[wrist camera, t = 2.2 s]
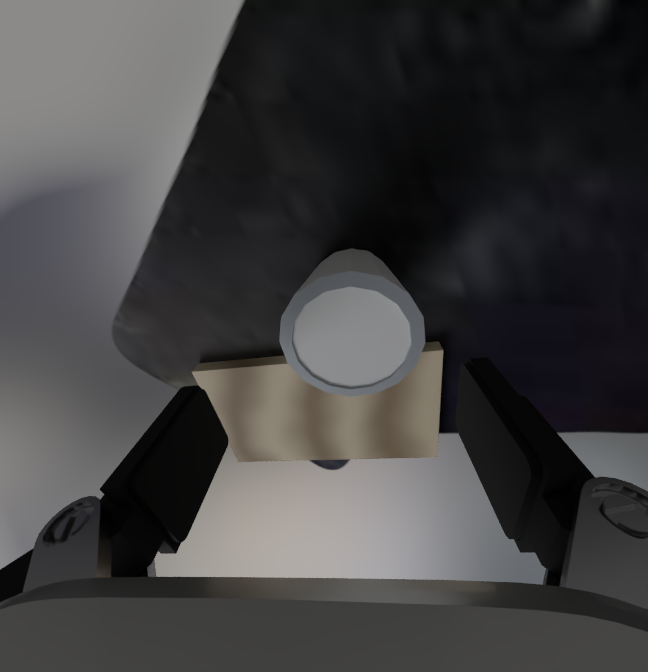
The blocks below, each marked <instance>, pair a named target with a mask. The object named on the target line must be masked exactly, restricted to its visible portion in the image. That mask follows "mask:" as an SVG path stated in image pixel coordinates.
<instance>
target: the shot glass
mask: <svg viewBox="0 0 648 672" xmlns="http://www.w3.org/2000/svg"><path fill="white" fill-rule="evenodd" d="M279 342H280V344H281V347H282V350H283V352H284V355H285V358H286V360H287V363H288V364H289V365H290V367H291V368H292V369H293V370H294V371H295V372H296V373H297V374H298V375H299V376H300V377H301V378H302V379H303V380H304V381H305V382H307V383H309V384H311V385H313V386H315V387H316V388H318V389H320V390H322V391H324V392H327V393H332V394H338V395H344V396H349V397H352V396H360V395H369V394H376V393H378V392H380V391H382V390H385V389H387V388H389V387H391V386H393V385H396V384H398V383H399V382H400V381H401V380H402V379H403V378H404V377H405V376H406V375H407V374H408V373H409V372H410V371H411V370H412V369H413V368H414V367H415V366H416V365H417V362H418V360H419V357H420V355H421V352H422V350H423V348H424V345H425V331H424V317H423V316H422V314H421V312H420V311H419V309H418V308H417V306H416V304H415V303H414V301H413V299H412V298H411V296H410V295H409V293H408V292H407V291H406V289H405V288H404V287H403V286H402V284H401V283H400V282H399V281H398V279H397V278H396V277H395V276H394V275H393V273H392V272H391V271H390V270H389V268H388V267H387V266H386V265H385V263H384V262H383V261H382V260H380V259H379V258H377V257H376V256H374V255H373V254H371V253H370V252H368V251H363V250H357V249H352V248H351V249H347V250H343V251H338V252H334V253H333V254H332V255H330V256H329V257H328V258H326V259H325V260H323V261H322V262H321V263H320V264H319V265H318V267H317V268H316V269H315V270H314V272H313V273H312V274H311V275H310V276H309V278H308V279H307V280H306V281H305V283H304V284H303V285H302V286H301V287H300V289H299V290H298V291H297V292H296V294H295V295H294V297H293V298H292V300H291V302H290V303H289V305H288V307H287V309H286V310H285V312H284V314H283V315H282V317H281V328H280V341H279Z"/></svg>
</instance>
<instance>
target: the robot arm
mask: <svg viewBox="0 0 648 672" xmlns="http://www.w3.org/2000/svg"><path fill="white" fill-rule="evenodd" d="M456 428H457V431H458V433H459V435H460V438H461V439H462V442H463V444H464V446H465V448H466V450H467V453H468V455H469V457H470V459H471V461H472V464H473V466H474V467H475V470H476V472H477V474H478V477H479V479H480V481H481V483H482V485H483V487H484V490H485V492H486V494H487V496H488V498H489V500H490V503H491V505H492V507H493V509H494V511H495V513H496V515H497V518H498V520H499V522H500V524H501V527H502V529H503V531H504V533H505V535H506V536H507V537H508V538H509V539H514V540H515V542H516V544H517V547H518V548H519V550H520V552H535V553H536V555H537V557H538V559H539V561H540V562H541V565H542V566H544V567H545V568H546V571H545V575H544V580H543V584H542V585H537V584H525V583H510V582H484V581H456V580H405V579H343V578H340V579H339V578H251V577H249V578H248V577H156V571H155V562H154V558H155V556H156V554H157V552H158V551H159V552H160V553H177V550H178V548H179V546H180V544H181V542H183V541H184V540H185V539H186V537H187V535H188V533H189V531H190V529H191V527H192V524H193V522H194V520H195V518H196V515H197V513H198V511H199V509H200V506H201V504H202V502H203V500H204V497H205V495H206V493H207V491H208V488H209V486H210V484H211V482H212V480H213V477H214V475H215V473H216V471H217V468H218V466H219V464H220V462H221V459H222V457H223V455H224V453H225V451H226V448H227V446H228V435H227V433H226V431H225V429H224V427H223V425H222V423H221V421H220V419H219V417H218V415H217V413H216V411H215V409H214V407H213V405H212V403H211V401H210V399H209V397H208V395H207V393H206V391H205V390H204V389H202V388H201V387H200V386H186V387H182V388H181V389H180V390H179V391H178V392H177V394H176V395H175V396H174V397H173V399H172V400H171V401H170V402H169V403H168V405H167V406H166V407H165V408H164V410H163V411H162V413H161V414H160V415H159V416H158V418H156V420H155V421H154V422H153V423H152V425H151V426H150V427H149V428H148V430H147V431H146V432H145V433H144V435H143V436H142V437H141V439H140V440H139V441H138V442H137V443H136V445H135V446H134V447H133V448H132V450H131V451H130V452H129V453H128V454H127V456H126V457H125V458H124V459H123V461H122V462H121V463H120V465H119V466H118V467H117V468H116V469H115V471H114V472H113V473H112V474H111V476H110V477H109V478H108V479H107V481H106V482H105V483H104V484H103V486H102V487H101V488H100V490H101V491H102V492H103V493H104V494H105V495H104V496H103V497H102V498H101V500H100V499H98V498H97V497H96V496H88V497H84V498H81V499H79V500H76V501H74V502H72V503H71V504H69V505H68V506H66V507H65V508H63V509H62V510H61V511H59V512H58V513H57V514H56V515H55V516H54V517H53V518H52V519H51V520H50V521H49V522H48V523H47V524H46V525H45V526H44V528H43V529H42V531H41V532H40V533H39V535H38V538H37V540H36V542H35V546H34V548H33V549H32V550H30V551H29V552H27V553H26V554H24V555H23V556H21V557H19V558H18V559H16V560H15V561H13V562H12V563H10V564H9V565H7V566H5V567H4V568H2V569H1V570H0V672H648V492H647V491H646V490H644V489H642V488H640V487H638V486H636V485H633V484H631V483H628V482H625V481H622V480H619V479H616V478H608V477H597V478H595V477H594V476H593V475H592V474H591V472H590V471H589V470H588V469H587V468H586V466H585V465H584V464H583V463H582V462H581V461H580V460H579V458H578V457H577V456H576V455H575V454H574V452H573V451H572V450H571V449H570V448H569V447H568V445H567V444H566V443H565V442H564V441H563V440H562V438H561V437H560V436H559V435H558V434H557V433H556V431H555V430H554V429H553V428H552V427H551V426H550V424H549V423H548V422H547V421H546V420H545V419H544V417H543V416H542V415H541V414H540V413H539V412H538V410H537V409H536V408H535V407H534V406H533V405H532V403H531V402H530V401H529V400H528V399H527V398H526V397H524V396H522V395H518V394H517V392H516V391H515V390H514V389H513V388H512V386H511V385H510V384H509V383H508V382H507V380H506V379H505V378H504V377H503V376H502V374H501V373H500V372H499V371H498V370H497V368H496V367H495V366H494V365H493V364H492V362H491V361H490V360H489V359H488V358H486V357H484V358H473V359H467V361H466V364H461V367H460V377H459V388H458V399H457V410H456Z"/></svg>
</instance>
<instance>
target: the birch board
mask: <svg viewBox="0 0 648 672" xmlns="http://www.w3.org/2000/svg"><path fill="white" fill-rule="evenodd" d="M442 365H443V349H442V347H441V345H440V343H439V341H438V342H427V343H425V345H424V348H423V350H422V352H421V355H420V357H419V360H418V362H417V365H416V366H415V367H414V368H413V369H412V370H411V371H410V372H409V373H408V374H407V375H406V376H405V377H404V378H403V379H402V380H401V381H400V382H399V383H398V384H396V385H393V386H391V387H389V388H387V389H385V390H382V391H380V392H378V393H376V394H369V395H360V396H352V397H349V396H344V395H338V394H332V393H327V392H324V391H322V390H320V389H318V388H316V387H315V386H313V385H311V384H309V383H307V382H305V381H304V380H303V379H302V378H301V377H300V376H299V375H298V374H297V373H296V372H295V371H294V370H293V369H292V368H291V367H290V365H289V364H288V363H287V360H286V358H285V356H274V357H263V358H252V359H241V360H230V361H219V362H209V363H199V364H198V365H197V366H196V367H195V369H194V370H193V371H192V373H193V375H194V377H195V379H196V381H197V383H198V385H199V386H200V387H201V388H202V389H204V390H205V391H206V393H207V395H208V397H209V399H210V401H211V403H212V405H213V407H214V409H215V411H216V413H217V415H218V417H219V419H220V421H221V423H222V425H223V427H224V429H225V431H226V433H227V435H228V443H229V445H230V447H231V449H232V451H233V453H234V454H235V456H236V458H237V460H238V462H249V461H292V460H336V459H375V458H377V459H378V458H421V457H437V451H438V435H439V417H440V400H441V382H442Z"/></svg>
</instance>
